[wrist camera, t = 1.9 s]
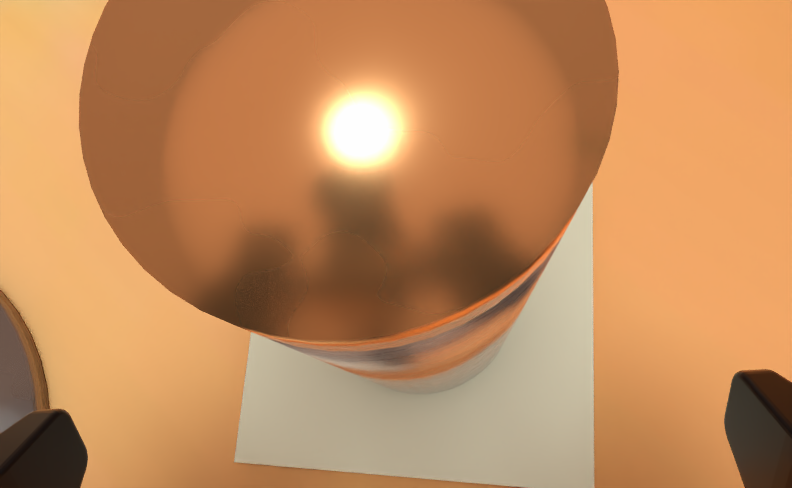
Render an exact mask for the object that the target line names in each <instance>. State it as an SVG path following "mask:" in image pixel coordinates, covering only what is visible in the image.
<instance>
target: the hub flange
mask: <svg viewBox="0 0 792 488" xmlns="http://www.w3.org/2000/svg"><path fill="white" fill-rule="evenodd" d="M45 409H49V404H48V394H47V386H46V381H45V377H44V373H43V369H42V364H41V360H40V357H39V355H38V352H37V349H36V347H35V344H34V342H33V339H32V336H31V334H30V332H29V331H28V329H27V327H26V325H25V323H24V322H23V320H22V318H21V316H20V315H19V313H18V311H17V310H16V309H15V308H14V306H13V305H12V304H11V302H10V301H9V300H8V299H7V297H6V296H5V295H4V294H3V292H1V291H0V433H2V432H3V431H5V430H6V429H7V428H9V427H10V426H12V425H13V424H15V423H16V422H18V421H19V420H20V419H22V418H23V417H25V416H26V415H28V414H29V413H31V412H33V411H36V410H45Z"/></svg>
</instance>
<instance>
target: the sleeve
mask: <svg viewBox="0 0 792 488" xmlns="http://www.w3.org/2000/svg"><path fill="white" fill-rule="evenodd" d="M618 74H619V70H618V60H617V49H616V39H615V35H614V31H613V27H612V23H611V19H610V15H609V11H608V7H607V5H606V2H605V0H109V1H108V3H107V4H106V6H105V8H104V10H103V13H102V15H101V17H100V20H99V22H98V24H97V27H96V29H95V31H94V34H93V36H92V40H91V43H90V47H89V50H88V53H87V57H86V60H85V64H84V70H83V76H82V83H81V89H80V101H79V129H80V137H81V145H82V153H83V159H84V162H85V166H86V170H87V173H88V177H89V180H90V184H91V187H92V190H93V192H94V194H95V196H96V199H97V201H98V203H99V205H100V208H101V210H102V212H103V214H104V217H105V218H106V220H107V221H108V223H109V224H110V226H111V228H112V229H113V231H114V232H115V234H116V235H117V237H118V238H119V240H120V242H121V243H122V245H123V246H124V247H125V248H126V249H127V250H128V251H129V253H130V254H131V255H132V256H133V257H134V258H135V259H136V261H137V262H138V263H139V264H140V265H141V266H142V267H143V269H144V270H146V271H147V272H148V273H149V274H150V275H151V276H153V277H154V278H155V279H156V280H157V281H159V282H160V283H161V284H162V285H163V286H165V287H166V288H167V289H168V290H169V291H170V292H172V293H174V294H175V295H177V296H178V297H180V298H182V299H183V300H185V301H186V302H188V303H190V304H191V305H193V306H195V307H196V308H198V309H199V310H201V311H203V312H206V313H208V314H210V315H213V316H215V317H217V318H220V319H222V320H224V321H226V322H229V323H231V324H233V325H236V326H238V327H241V328H243V329H245V330H248V331H250V332H253V333H255V334H257V335H260V336H262V337H265V338H267V339H270V340H272V341H274V342H277V343H279V344H282V345H284V346H287V347H289V348H291V349H294V350H296V351H299V352H301V353H304V354H306V355H308V356H311V357H313V358H316V359H318V360H320V361H323V362H325V363H328V364H330V365H333V366H335V367H337V368H340V369H342V370H345V371H347V372H350V373H352V374H354V375H357V376H359V377H362V378H364V379H366V380H369V381H371V382H374V383H376V384H379V385H381V386H383V387H386V388H388V389H391V390H395V391H399V392H403V393H410V394H431V393H438V392H442V391H446V390H450V389H452V388H455V387H457V386H460V385H462V384H464V383H466V382H467V381H469V380H471V379H472V378H474V377H475V376H476V375H478V374H479V373H480V372H482V371H483V370H484V369H485V368H486V367H487V366H488V365H489V364H490V363H491V362H492V360H493V359H494V358H495V356H496V355H497V354H498V352H499V351H500V349H501V347H502V346H503V344H504V342H505V340H506V338H507V336H508V335H509V333H510V331H511V329H512V327H513V326H514V324H515V322H516V320H517V318H518V316H519V315H520V313H521V311H522V309H523V307H524V306H525V304H526V302H527V300H528V298H529V296H530V295H531V293H532V291H533V289H534V287H535V286H536V284H537V282H538V280H539V278H540V276H541V275H542V273H543V271H544V269H545V267H546V266H547V264H548V262H549V260H550V258H551V257H552V255H553V253H554V251H555V249H556V247H557V246H558V244H559V242H560V240H561V238H562V237H563V235H564V233H565V231H566V229H567V227H568V226H569V224H570V222H571V220H572V218H573V217H574V215H575V213H576V211H577V209H578V207H579V206H580V204H581V202H582V200H583V198H584V196H585V195H586V193H587V191H588V189H589V187H590V185H591V184H592V182H593V180H594V178H595V176H596V174H597V172H598V169H599V167H600V164H601V161H602V159H603V156H604V153H605V151H606V148H607V145H608V142H609V140H610V135H611V130H612V125H613V121H614V116H615V111H616V106H617V91H618Z"/></svg>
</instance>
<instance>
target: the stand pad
mask: <svg viewBox="0 0 792 488" xmlns="http://www.w3.org/2000/svg"><path fill="white" fill-rule="evenodd" d="M234 462H237V463H249V464H260V465H272V466H283V467H295V468H306V469H318V470H329V471H341V472H352V473H364V474H375V475H387V476H398V477H410V478H421V479H433V480H444V481H456V482H467V483H479V484H490V485H502V486H513V487H525V488H594V358H593V196H592V184H591V185H590V187H589V189H588V191H587V193H586V195H585V196H584V198H583V200H582V202H581V204H580V206H579V207H578V209H577V211H576V213H575V215H574V217H573V218H572V220H571V222H570V224H569V226H568V227H567V229H566V231H565V233H564V235H563V237H562V238H561V240H560V242H559V244H558V246H557V247H556V249H555V251H554V253H553V255H552V257H551V258H550V260H549V262H548V264H547V266H546V267H545V269H544V271H543V273H542V275H541V276H540V278H539V280H538V282H537V284H536V286H535V287H534V289H533V291H532V293H531V295H530V296H529V298H528V300H527V302H526V304H525V306H524V307H523V309H522V311H521V313H520V315H519V316H518V318H517V320H516V322H515V324H514V326H513V327H512V329H511V331H510V333H509V335H508V336H507V338H506V340H505V342H504V344H503V346H502V347H501V349H500V351H499V352H498V354H497V355H496V356H495V358H494V359H493V360H492V362H491V363H490V364H489V365H488V366H487V367H486V368H485V369H484V370H483V371H482V372H480V373H479V374H478V375H476V376H475V377H474V378H472V379H471V380H469V381H467V382H466V383H464V384H462V385H460V386H457V387H455V388H452V389H450V390H446V391H442V392H438V393H431V394H410V393H403V392H399V391H395V390H391V389H388V388H386V387H383V386H381V385H379V384H376V383H374V382H371V381H369V380H366V379H364V378H362V377H359V376H357V375H354V374H352V373H350V372H347V371H345V370H342V369H340V368H337V367H335V366H333V365H330V364H328V363H325V362H323V361H320V360H318V359H316V358H313V357H311V356H308V355H306V354H304V353H301V352H299V351H296V350H294V349H291V348H289V347H287V346H284V345H282V344H279V343H277V342H274V341H272V340H270V339H267V338H265V337H262V336H260V335H257V334H255V333H253V332H251V337H250V344H249V352H248V360H247V367H246V375H245V383H244V390H243V398H242V405H241V413H240V421H239V428H238V436H237V444H236V451H235V459H234Z"/></svg>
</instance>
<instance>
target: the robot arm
mask: <svg viewBox="0 0 792 488" xmlns="http://www.w3.org/2000/svg"><path fill="white" fill-rule="evenodd" d="M724 424H725V431H726V435H727V438H728V441H729V444H730V447H731V450H732V453H733V455H734V458H735V461H736V464H737V467H738V470H739V472H740V475H741V478H742V481H743V484H744V487H745V488H792V382H790V381H789V380H787V379H786V378H784V377H782V376H781V375H779V374H778V373H776V372H774V371H771V370H766V369H763V370H744V371H739V372H737V373H736V374H735V375H734V377H733V379H732V383H731V388H730V393H729V398H728V403H727V407H726V412H725V418H724ZM87 460H88V455H87V449H86V447H85V445H84V443H83V441H82V439H81V437H80V435H79V432H78V430H77V428H76V426H75V424H74V422H73V420H72V418H71V416H70V415H69V413H68V412H66V411H65V410H63V409H45V410H36V411H33V412H31V413H29V414H28V415H26V416H25V417H23V418H22V419H20V420H19V421H18V422H16V423H15V424H13V425H12V426H10V427H9V428H7V429H6V430H5V431H3V432H2V433H0V488H80V487H81V483H82V480H83V477H84V474H85V471H86V467H87Z"/></svg>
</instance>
